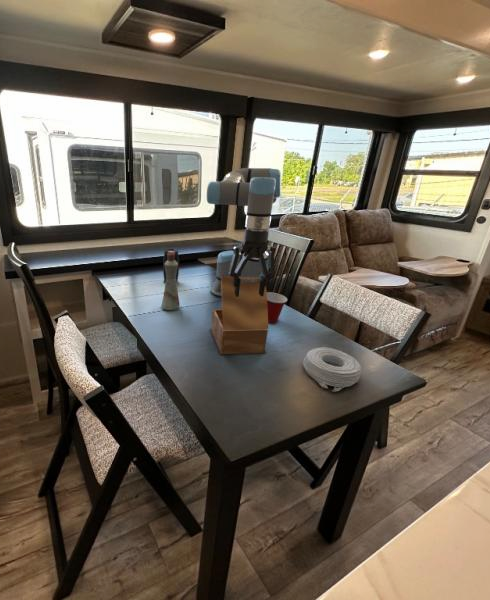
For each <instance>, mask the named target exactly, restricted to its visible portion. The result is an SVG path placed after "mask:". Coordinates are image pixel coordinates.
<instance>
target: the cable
mask: <svg viewBox="0 0 490 600" xmlns="http://www.w3.org/2000/svg"><path fill="white" fill-rule="evenodd" d="M302 365H303V368H304V369H305V372H306V373H307V374H308V375H309V376H310V377H311V378H312V379H313V380H314V381H315V382H317V383H318V385H319V386H320V387H321V388H322V389H326V390H327V389H329V388H328V386H330V387H333V389H331V392H332V393H337V392H339V391H341V390H342V389H344V388H348V387H351V386H353V385H355V384H357V383H358V382H359V380H360V377H361V375H362V366H361V364H360V363H359V361H358V360H357V359H356V358H354V357H353V356H351V355H350V354H348V353H347V352H344V351H341V350H339V349H334V348H332V347H316V348H312V349H311V350H309V351H308V352H307V353H306V355H305V356H304V358H303V360H302Z"/></svg>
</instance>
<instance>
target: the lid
mask: <svg viewBox="0 0 490 600" xmlns="http://www.w3.org/2000/svg"><path fill="white" fill-rule="evenodd" d="M239 277H240V289H239V297H236V295H235V294H234V293H235V287H234V286H233V277H231V276H221V289H222V297H221V309H222V315H223V330H247V329H268V330H269V323H268V309H267V292H268V290H267V287H265V288H264V295H263V296H260V294H259V287H260V283H261V281H262V279H261V276H239Z"/></svg>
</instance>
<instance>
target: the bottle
mask: <svg viewBox="0 0 490 600" xmlns="http://www.w3.org/2000/svg"><path fill="white" fill-rule="evenodd" d="M167 256H168V260H167V261H166V262H165V264H164V265H165V272H166V282H164V283H165V284H164V290H163V296H162V303H161V308H162V309H163V310H166V311H171V312H172V311H178V309H179V308H180V297H179V291H178V290H179V289H178V281H177V282H176V273H177V267H178V263H177V262H176V261H175V260H174V259H175V253H173V252H170V253H168V254H167Z"/></svg>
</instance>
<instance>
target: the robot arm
mask: <svg viewBox="0 0 490 600" xmlns="http://www.w3.org/2000/svg"><path fill="white" fill-rule="evenodd" d="M281 177H282V172H281V170H280V169H278V168H270V167H242V168H237V169H234V170H232V171H230V172H228V173H227V174H225V176H224V177H223V178H222V180H221V181H219V180H216V181H209V182H208V184H207V187H206V203H208V204H209V205H216V206H218V205H223V206H242V207H247V209H246V217H245V225H244V227H245V229H244V234H243V242H242V244H241V245H239V246H236V245H233V248H232V249H233V250H225V251H221V252H220V253H219V254H218V255H217V261H216V274H215V275H216V276H215V280H214V283H213V285H212V288H211V294H212V295H213V296H215V297H218V298H222V289H221V276H231V277H233V286H234V287H235V293H234V294H235V295H236V297H239V289H240V277H239V276H261V279H262V281H261V283H260V287H259V294H260V296H263V295H264V288H265V287H266V288H267V287H268V283H269V280H270V278H272V277H274V276H275V275H276V269H275V268H276V267H275V254H276V251H277V248H276V247H275V246H273V245H268V240H269V233H270V231H269V230H270V226H271V220H272V212H273V211H272V209H273V205H274V203H276V202H277V198H280V197H281V183H282V182H281V181H282V180H281V179H282V178H281ZM242 251H243V252H244V253H243V254H242V253H241V252H242Z"/></svg>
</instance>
